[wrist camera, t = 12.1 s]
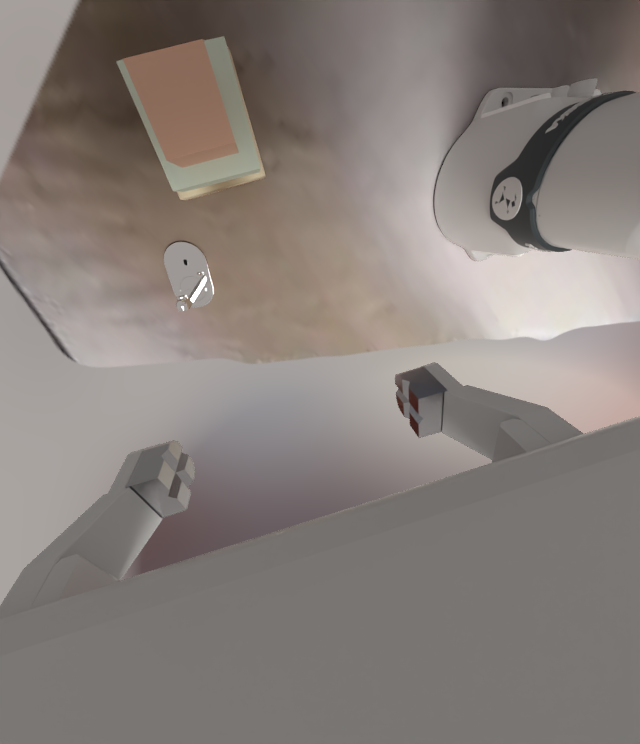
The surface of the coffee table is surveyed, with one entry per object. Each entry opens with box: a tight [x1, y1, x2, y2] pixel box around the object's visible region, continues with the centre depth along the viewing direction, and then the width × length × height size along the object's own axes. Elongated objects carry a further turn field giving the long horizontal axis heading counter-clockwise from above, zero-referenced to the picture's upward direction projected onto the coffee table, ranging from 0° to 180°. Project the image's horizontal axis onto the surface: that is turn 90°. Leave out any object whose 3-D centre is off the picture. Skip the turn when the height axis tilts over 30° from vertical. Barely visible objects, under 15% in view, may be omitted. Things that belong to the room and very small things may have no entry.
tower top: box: [116, 36, 261, 192], centre depth 24 cm, size 8×8×4 cm
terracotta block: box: [123, 39, 239, 168], centre depth 20 cm, size 5×5×5 cm
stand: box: [164, 242, 214, 311], centre depth 32 cm, size 8×5×8 cm
